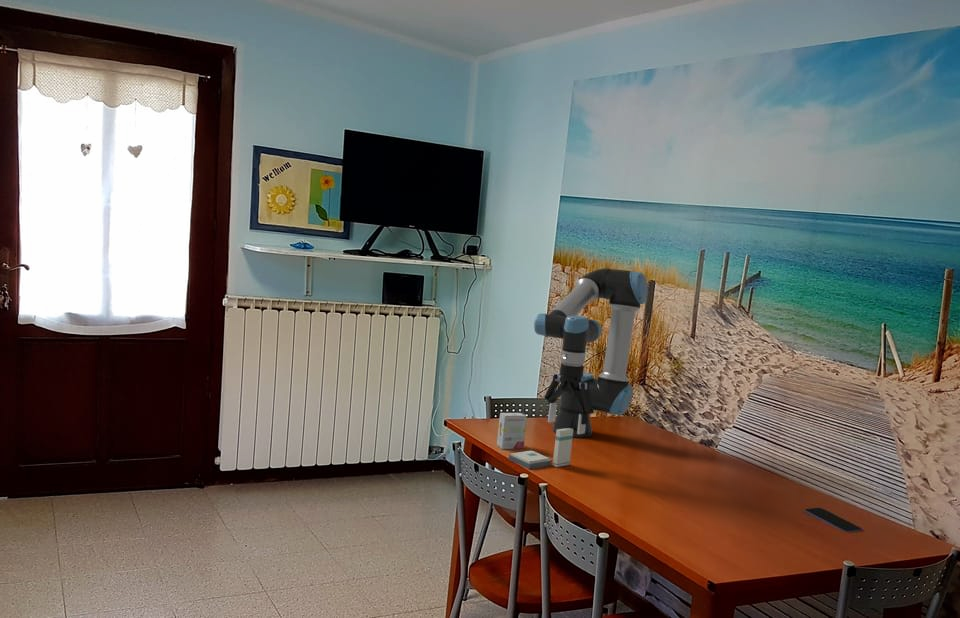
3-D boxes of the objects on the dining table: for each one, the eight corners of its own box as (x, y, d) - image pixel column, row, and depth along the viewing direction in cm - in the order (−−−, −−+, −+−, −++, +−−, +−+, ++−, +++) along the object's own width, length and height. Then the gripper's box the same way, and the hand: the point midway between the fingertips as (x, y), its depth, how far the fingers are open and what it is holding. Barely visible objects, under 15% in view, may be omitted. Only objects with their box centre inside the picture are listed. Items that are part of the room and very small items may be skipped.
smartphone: (846, 531, 196) (802, 509, 209) (845, 535, 196) (802, 512, 210) (864, 529, 199) (820, 507, 212) (863, 533, 199) (820, 510, 212)
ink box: (518, 444, 250) (521, 412, 249) (524, 448, 245) (527, 415, 244) (496, 445, 247) (499, 412, 246) (501, 449, 242) (505, 415, 241)
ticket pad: (531, 456, 238) (531, 449, 237) (551, 465, 230) (552, 458, 230) (508, 459, 231) (509, 453, 231) (529, 469, 224) (529, 462, 223)
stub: (565, 463, 233) (569, 427, 232) (569, 464, 232) (573, 429, 231) (552, 465, 229) (556, 429, 228) (556, 467, 228) (560, 431, 227)
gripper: (537, 356, 235) (531, 418, 237) (592, 373, 215) (585, 440, 218) (553, 355, 239) (547, 416, 242) (609, 371, 220) (602, 437, 222)
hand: (565, 427), depth 230 cm, fingers open, 13 cm apart
